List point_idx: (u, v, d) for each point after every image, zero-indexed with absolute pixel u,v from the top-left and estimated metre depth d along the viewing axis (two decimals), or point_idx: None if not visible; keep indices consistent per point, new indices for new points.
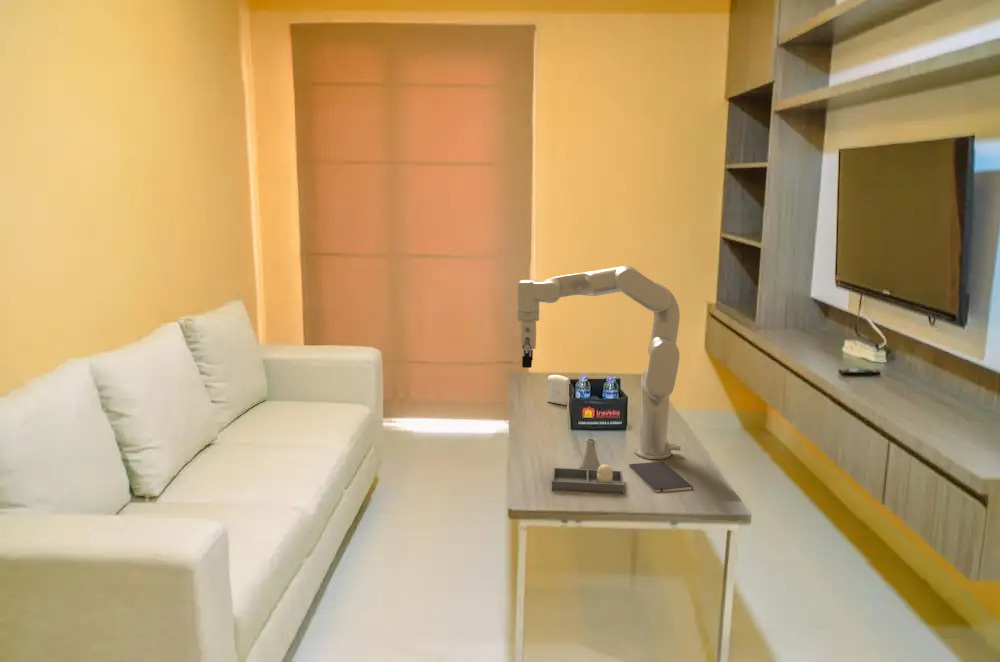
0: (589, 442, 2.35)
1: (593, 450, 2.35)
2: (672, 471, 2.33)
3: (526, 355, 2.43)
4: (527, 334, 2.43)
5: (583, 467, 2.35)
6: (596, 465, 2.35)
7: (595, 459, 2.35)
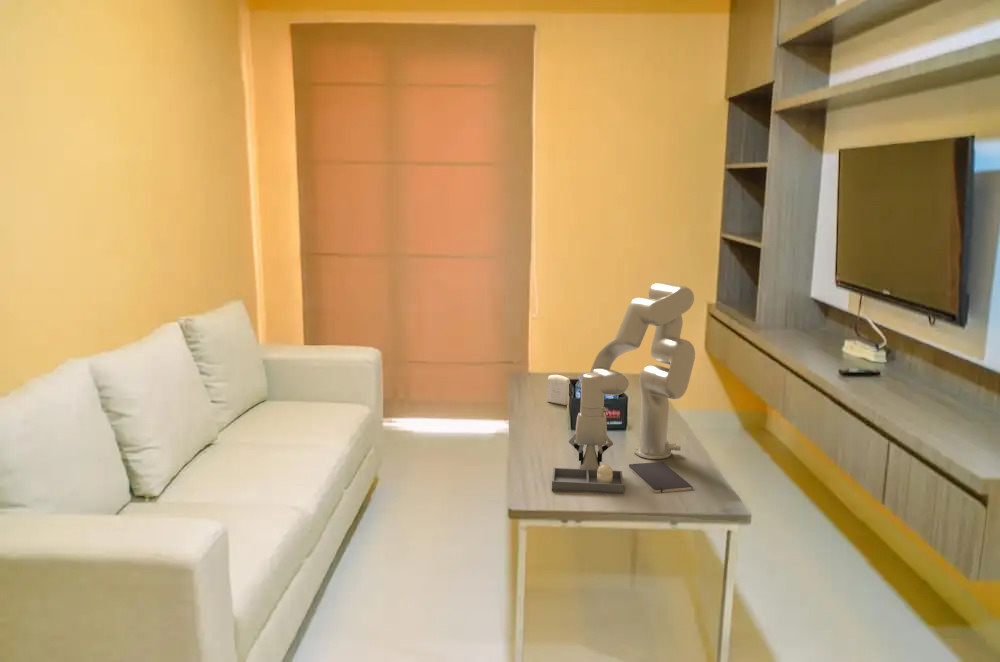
0: None
1: (593, 450, 2.35)
2: (672, 471, 2.33)
3: None
4: (606, 427, 2.34)
5: (583, 467, 2.35)
6: (596, 465, 2.35)
7: (595, 459, 2.35)
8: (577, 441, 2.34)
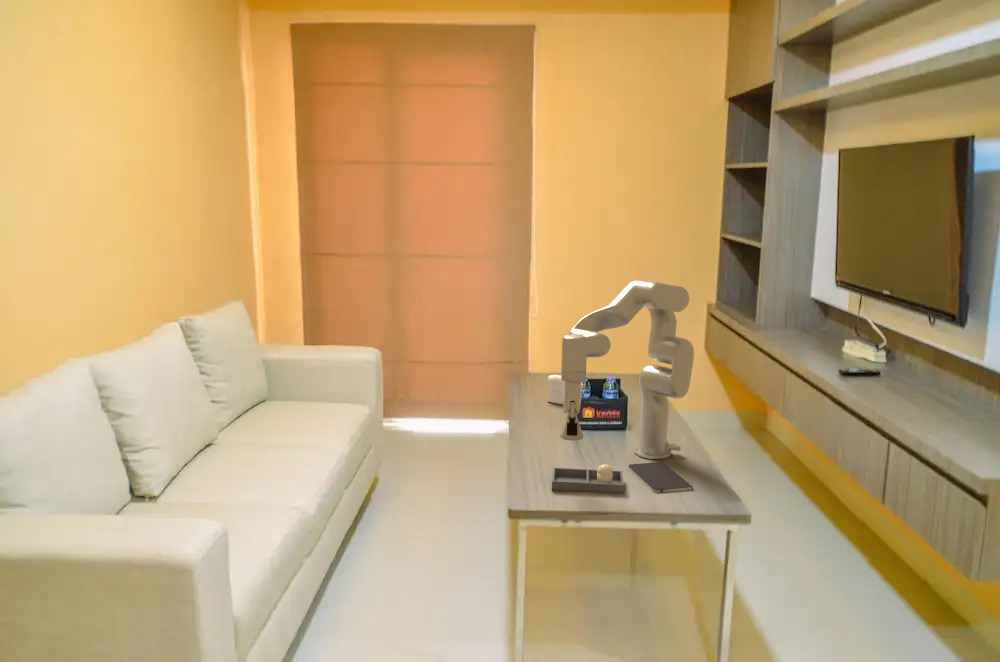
0: None
1: None
2: (672, 471, 2.33)
3: None
4: None
5: (579, 436, 2.19)
6: None
7: None
8: (578, 411, 2.16)
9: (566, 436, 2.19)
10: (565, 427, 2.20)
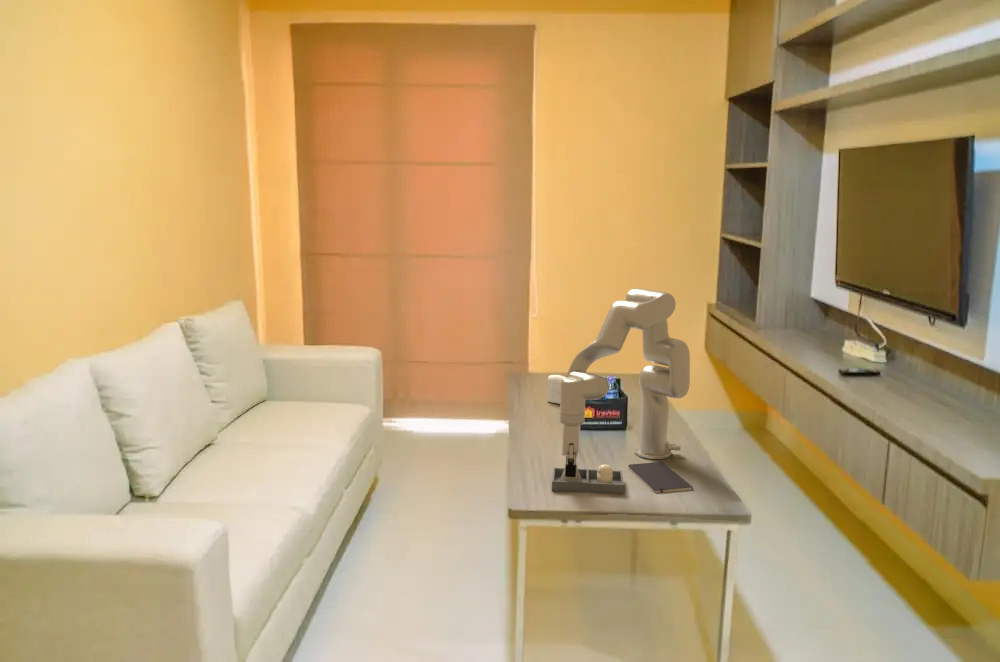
0: None
1: None
2: (671, 471, 2.33)
3: None
4: None
5: (578, 481, 2.22)
6: None
7: None
8: (577, 453, 2.18)
9: None
10: (564, 472, 2.23)
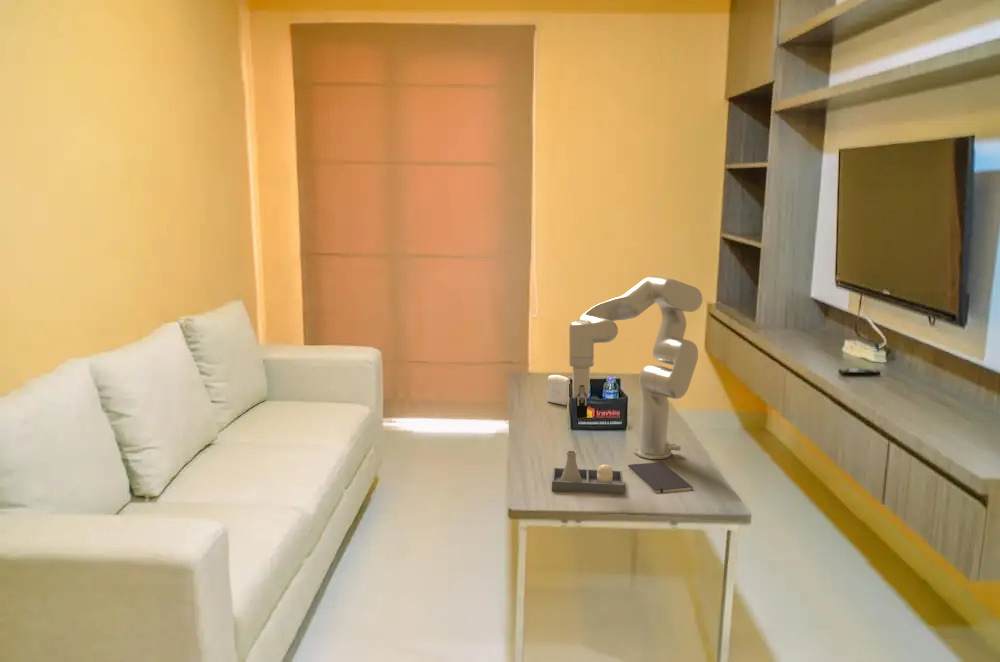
0: (575, 454, 2.22)
1: None
2: (671, 471, 2.33)
3: None
4: None
5: (578, 481, 2.22)
6: None
7: None
8: None
9: None
10: (564, 472, 2.23)
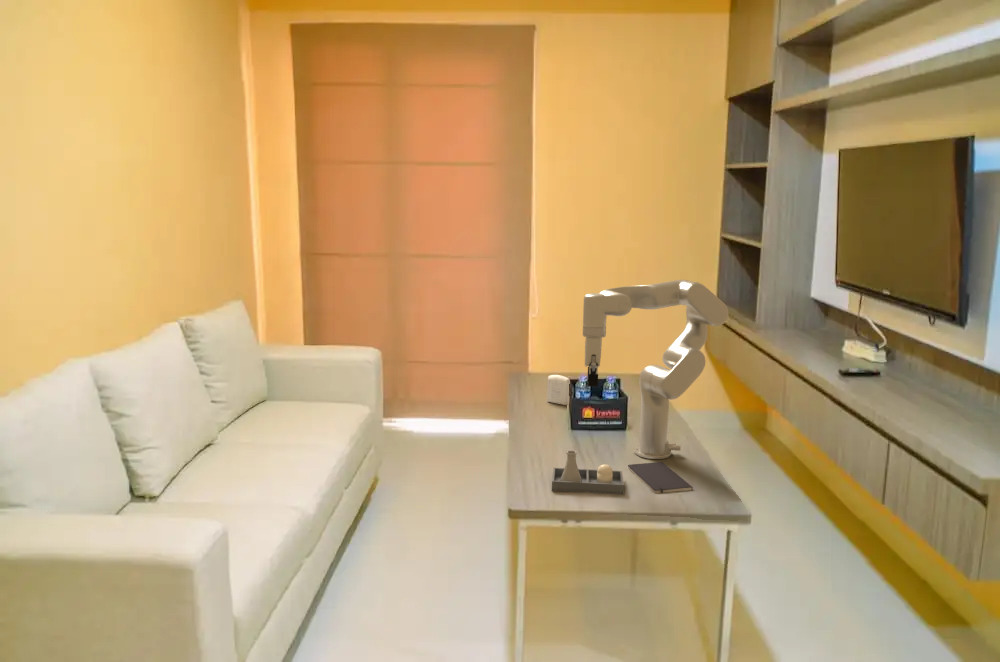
0: (575, 454, 2.22)
1: None
2: (671, 471, 2.33)
3: None
4: None
5: (578, 481, 2.22)
6: None
7: None
8: (599, 364, 2.31)
9: None
10: (564, 472, 2.23)
